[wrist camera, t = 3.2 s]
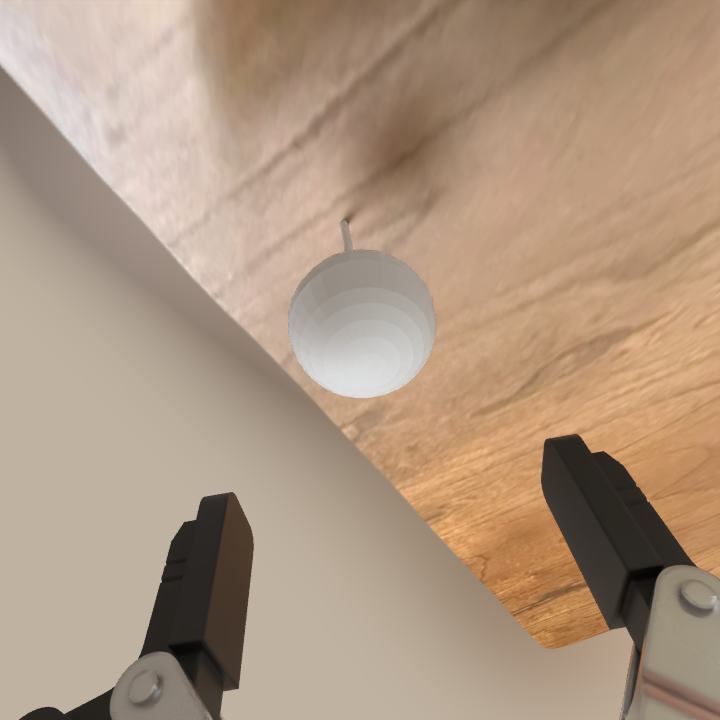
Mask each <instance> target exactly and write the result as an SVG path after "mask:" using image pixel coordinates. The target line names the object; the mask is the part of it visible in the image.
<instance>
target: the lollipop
mask: <svg viewBox="0 0 720 720" xmlns="http://www.w3.org/2000/svg"><path fill="white" fill-rule="evenodd" d="M341 231H342V237H343V243H344V249H345V252H342V253H339V254H335V255H333V256H331V257H329V258H327V259H325V260H323V261H322V262H321V263H319V264H318V265H317V266H316V267H314V268H313V269H312V270H311V271H310V272H309V273H308V274H307V276H306V277H305V278H304V279H303V280H302V281H301V283H300V284H299V286H298V287H297V289H296V291H295V293H294V295H293V297H292V300H291V304H290V308H289V312H288V330H289V336H290V342H291V346H292V349H293V351H294V353H295V356H296V358H297V360H298V362H299V363H300V365H301V366H302V368H303V369H304V370H305V372H306V373H307V374H308V375H309V376H310V377H311V378H312V379H313V380H315V381H316V382H317V383H318V384H320V385H321V386H323V387H324V388H326V389H328V390H329V391H331V392H334V393H336V394H339V395H342V396H347V397H352V398H370V397H377V396H381V395H385V394H388V393H390V392H392V391H395V390H397V389H399V388H400V387H402V386H404V385H405V384H407V383H408V382H409V381H410V380H411V379H413V378H414V377H415V376H416V375H417V374H418V372H419V371H420V370H421V368H422V367H423V366H424V364H425V362H426V361H427V359H428V357H429V355H430V353H431V351H432V348H433V344H434V340H435V335H436V314H435V309H434V304H433V300H432V296H431V294H430V292H429V290H428V288H427V285H426V284H425V283H424V281H423V280H422V279H421V277H420V276H419V275H418V273H416V272H415V271H414V270H413V269H412V268H411V267H409V266H408V265H407V264H406V263H404V262H403V261H401V260H399V259H397V258H395V257H393V256H391V255H389V254H386V253H382V252H379V251H375V250H363V249H360V250H353V246H352V241H351V236H350V231H349V226H348V222H347V221H345V220H343V221H342V222H341Z"/></svg>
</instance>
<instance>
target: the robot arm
mask: <svg viewBox="0 0 720 720" xmlns="http://www.w3.org/2000/svg"><path fill="white" fill-rule="evenodd" d="M541 484H542V490H543V494H544V497H545V499H546V502H547V504H548V506H549V508H550V510H551V512H552V514H553V516H554V518H555V520H556V522H557V524H558V526H559V528H560V530H561V532H562V534H563V536H564V538H565V540H566V542H567V544H568V546H569V548H570V550H571V552H572V554H573V557H574V559H575V561H576V563H577V565H578V567H579V569H580V571H581V573H582V575H583V577H584V579H585V581H586V583H587V585H588V587H589V589H590V591H591V593H592V595H593V597H594V599H595V601H596V603H597V605H598V607H599V609H600V611H601V613H602V615H603V617H604V619H605V621H606V623H607V625H608V627H609V629H610V630H611V629H617V628H623V627H626V628H627V630H628V632H629V634H630V636H631V637H632V639H633V641H634V643H633V647H632V652H631V658H630V664H629V669H628V675H627V680H626V686H625V692H624V697H623V703H622V708H621V714H620V720H720V579H719V578H717V577H716V576H714V575H713V574H711V573H709V572H707V571H705V570H702V569H700V568H698V567H697V566H696V565H695V564H694V563H693V562H692V561H691V560H690V558H689V557H688V556H687V554H686V553H685V552H684V550H683V549H682V547H681V546H680V545H679V543H678V542H677V540H676V539H675V538H674V536H673V535H672V533H671V532H670V530H669V529H668V528H667V526H666V525H665V523H664V522H663V521H662V519H661V518H660V516H659V515H658V514H657V512H656V511H655V509H654V508H653V507H652V505H651V504H650V502H647V498H646V497H645V495H644V494H643V493H642V491H641V490H640V488H639V487H637V486H636V483H635V481H634V480H633V479H632V477H631V476H630V474H629V473H628V472H627V470H626V469H625V467H624V466H623V465H622V464H620V463H619V462H618V461H616V460H615V459H614V458H612V457H611V456H609V455H608V454H607V453H605V452H604V451H602V452H596V453H591V452H590V450H589V449H588V447H587V446H586V444H585V443H584V441H583V440H582V438H581V437H580V436H579V435H577V434H572V435H567V436H561V437H555V438H549V439H546V440H545V443H544V452H543V463H542V474H541ZM253 545H254V544H253V535H252V530H251V527H250V525H249V523H248V521H247V518H246V517H245V514H244V512H243V510H242V508H241V506H240V504H239V501H238V499H237V497H236V495H235V494H234V493H233V492H230V493H225V494H218V495H212V496H207V497H203V498H202V500H201V502H200V506H199V510H198V514H197V518H196V520H193V521H188V522H184V523H183V525H182V526H181V528H180V529H179V531H178V533H177V534H176V535H175V537H174V539H173V540H172V541H171V545H170V549H169V552H168V556H167V560H166V566H165V568H164V571H163V575H162V583H160V586H159V590H158V593H157V597H156V601H155V605H154V608H153V612H152V615H151V619H150V623H149V627H148V630H147V634H146V638H145V642H144V645H143V649H142V651H141V654H140V656H139V658H138V660H137V661H135V662H134V663H133V664H132V665H130V666H129V667H128V668H127V670H126V671H125V672H124V673H123V674H122V676H121V677H120V679H119V680H118V682H117V684H116V686H115V687H113V688H112V689H111V690H109V691H107V692H106V693H104V694H102V695H100V696H98V697H96V698H95V699H93V700H91V701H89V702H87V703H85V704H83V705H81V706H79V707H77V708H75V709H73V710H72V711H69V712H68V713H66V714H63V713H62V712H61V711H59V710H58V709H56V708H53V707H44V708H39V709H36V710H34V711H32V712H30V713H28V714H26V715H25V716H23V717H22V718H21V719H19V720H224V718H223V716H222V715H221V713H220V710H221V703H222V695H223V691H229V690H234V689H239V680H240V671H241V661H242V653H243V643H244V634H245V625H246V615H247V606H248V597H249V588H250V579H251V569H252V560H253V550H254V548H253V547H254V546H253Z"/></svg>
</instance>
